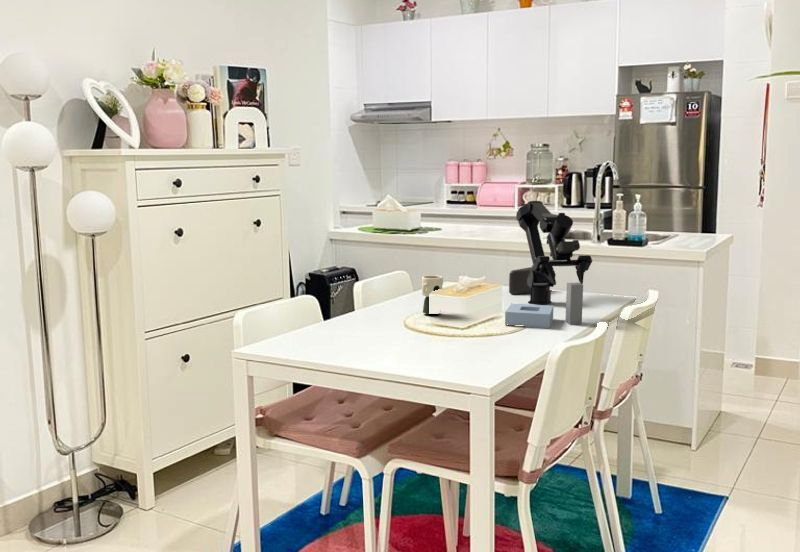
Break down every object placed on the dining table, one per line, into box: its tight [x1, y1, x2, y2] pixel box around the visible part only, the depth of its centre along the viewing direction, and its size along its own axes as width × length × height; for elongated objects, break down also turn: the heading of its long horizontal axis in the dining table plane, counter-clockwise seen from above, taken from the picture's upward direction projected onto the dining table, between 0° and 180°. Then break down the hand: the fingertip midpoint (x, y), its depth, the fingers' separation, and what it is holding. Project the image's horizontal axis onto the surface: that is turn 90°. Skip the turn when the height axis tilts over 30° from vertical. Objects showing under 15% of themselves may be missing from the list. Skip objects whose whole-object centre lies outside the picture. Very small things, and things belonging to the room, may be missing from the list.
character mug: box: [421, 274, 444, 315], centre depth 277 cm, size 11×7×13 cm, turn 145°
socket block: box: [504, 302, 555, 329], centre depth 266 cm, size 14×14×4 cm
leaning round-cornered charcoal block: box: [508, 266, 532, 296], centre depth 317 cm, size 16×5×9 cm, turn 134°
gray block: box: [564, 282, 584, 326], centre depth 264 cm, size 4×4×13 cm
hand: (568, 284), depth 269 cm, fingers open, 9 cm apart
